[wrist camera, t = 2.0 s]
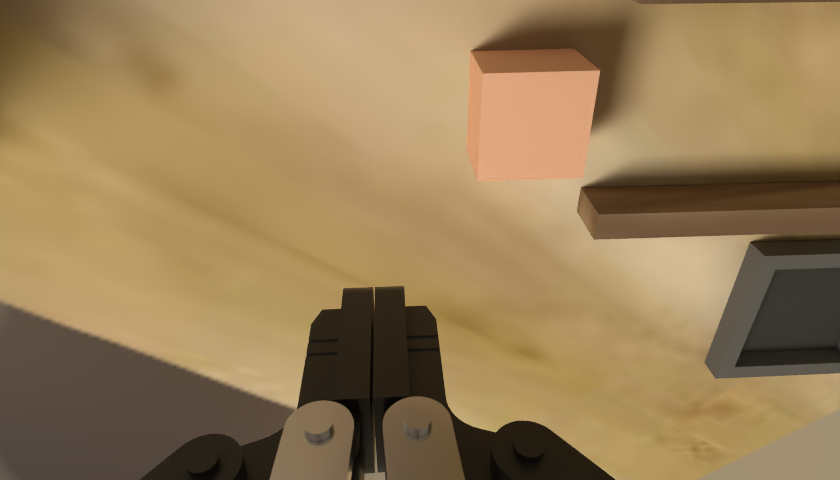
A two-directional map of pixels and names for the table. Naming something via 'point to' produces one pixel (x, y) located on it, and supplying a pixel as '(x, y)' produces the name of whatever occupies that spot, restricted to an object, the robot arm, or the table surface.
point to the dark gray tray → (781, 313)
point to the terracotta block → (530, 113)
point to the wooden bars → (711, 201)
